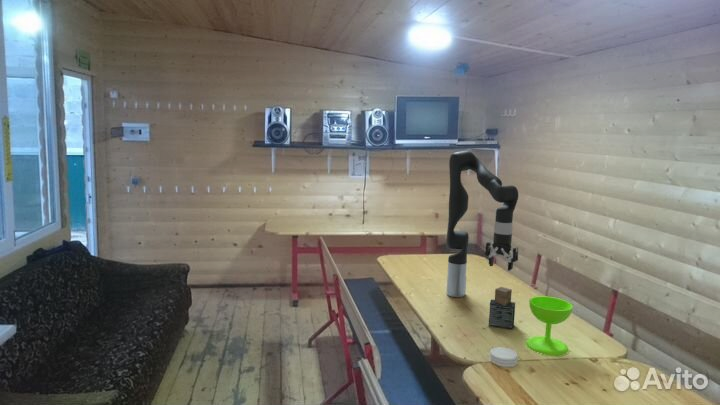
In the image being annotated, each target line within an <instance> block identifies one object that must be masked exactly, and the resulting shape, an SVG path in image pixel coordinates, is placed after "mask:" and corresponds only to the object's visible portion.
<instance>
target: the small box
mask: <svg viewBox="0 0 720 405" xmlns="http://www.w3.org/2000/svg"><path fill="white" fill-rule="evenodd" d="M515 313H516V302H514V301H511V303H509V304H507V305H502V304H498V303H495V299H490V302H489V312H488V314H489V315H488V327H493V328H499V329H506V330H512V331H513V330H514V327H515Z"/></svg>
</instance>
